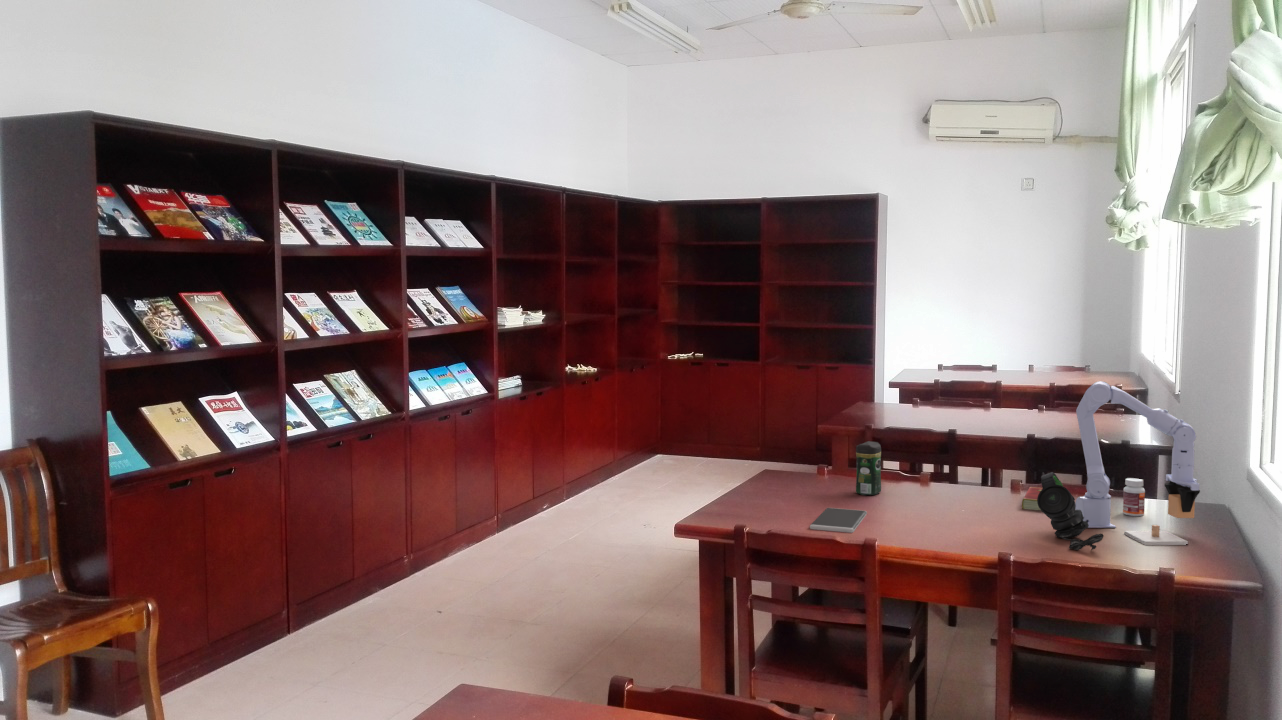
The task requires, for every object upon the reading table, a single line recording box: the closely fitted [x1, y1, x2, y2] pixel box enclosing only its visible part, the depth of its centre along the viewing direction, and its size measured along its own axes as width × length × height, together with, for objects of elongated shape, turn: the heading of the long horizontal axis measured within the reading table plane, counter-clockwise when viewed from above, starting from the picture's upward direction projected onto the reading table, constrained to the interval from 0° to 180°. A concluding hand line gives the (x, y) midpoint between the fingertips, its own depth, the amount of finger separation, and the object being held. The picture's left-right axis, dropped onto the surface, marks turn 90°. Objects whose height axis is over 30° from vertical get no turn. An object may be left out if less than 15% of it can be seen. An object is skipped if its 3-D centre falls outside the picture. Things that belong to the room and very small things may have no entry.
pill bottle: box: [1122, 477, 1146, 517], centre depth 305 cm, size 6×6×11 cm
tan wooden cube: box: [1167, 493, 1196, 519], centre depth 281 cm, size 5×5×6 cm
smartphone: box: [809, 507, 868, 534], centre depth 299 cm, size 13×27×2 cm, turn 158°
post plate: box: [1123, 524, 1189, 546], centre depth 274 cm, size 12×12×4 cm
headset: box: [1037, 471, 1104, 551], centre depth 275 cm, size 18×14×29 cm
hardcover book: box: [1021, 486, 1042, 511], centre depth 320 cm, size 12×21×4 cm, turn 152°
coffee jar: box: [855, 440, 882, 496], centre depth 339 cm, size 10×8×19 cm
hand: (1181, 509), depth 281 cm, fingers closed on tan wooden cube, 5 cm apart
